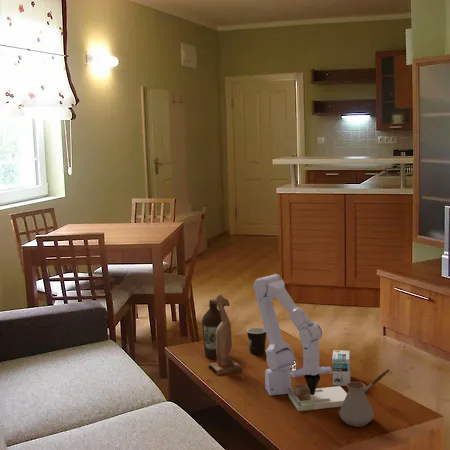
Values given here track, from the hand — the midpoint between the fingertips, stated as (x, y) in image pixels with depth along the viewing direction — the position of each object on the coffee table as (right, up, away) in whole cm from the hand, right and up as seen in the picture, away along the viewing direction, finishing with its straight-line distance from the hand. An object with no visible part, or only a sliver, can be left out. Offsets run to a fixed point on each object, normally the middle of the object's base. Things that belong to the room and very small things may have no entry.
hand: (311, 393), depth 244 cm
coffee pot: (+17, -5, -14) cm, 23 cm away
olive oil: (-36, +3, +54) cm, 65 cm away
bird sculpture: (-32, +1, +36) cm, 48 cm away
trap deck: (+3, -3, +1) cm, 4 cm away
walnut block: (-4, -1, -1) cm, 4 cm away
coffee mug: (-17, +5, +57) cm, 59 cm away
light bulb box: (+14, 0, +19) cm, 24 cm away
